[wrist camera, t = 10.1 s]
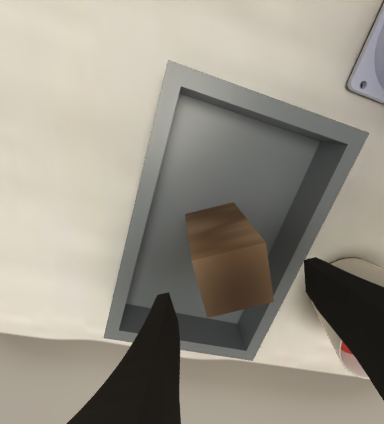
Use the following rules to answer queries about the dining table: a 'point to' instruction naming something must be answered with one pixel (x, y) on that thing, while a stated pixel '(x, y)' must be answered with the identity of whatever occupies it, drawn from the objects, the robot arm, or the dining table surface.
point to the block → (228, 260)
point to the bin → (226, 201)
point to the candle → (344, 354)
